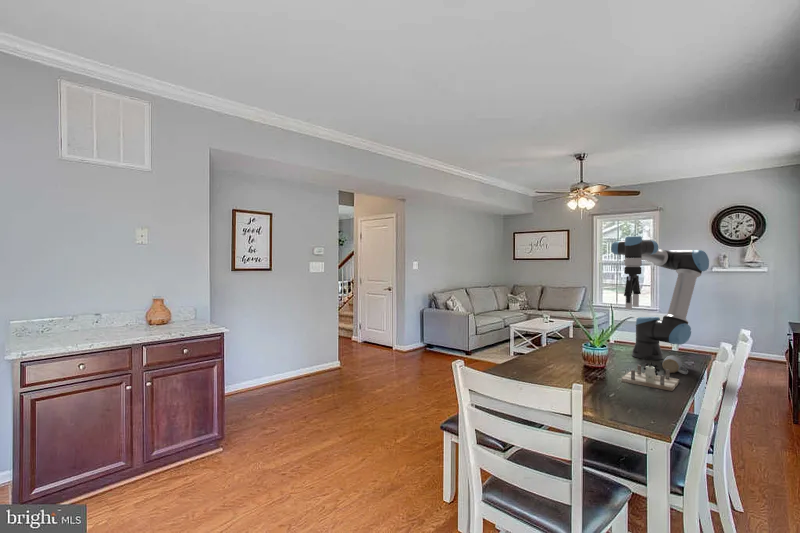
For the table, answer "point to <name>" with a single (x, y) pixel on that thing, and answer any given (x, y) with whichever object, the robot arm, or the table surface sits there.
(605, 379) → the table surface
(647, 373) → the valve
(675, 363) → the ceramic mug
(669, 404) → the table surface
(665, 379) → the peg board
